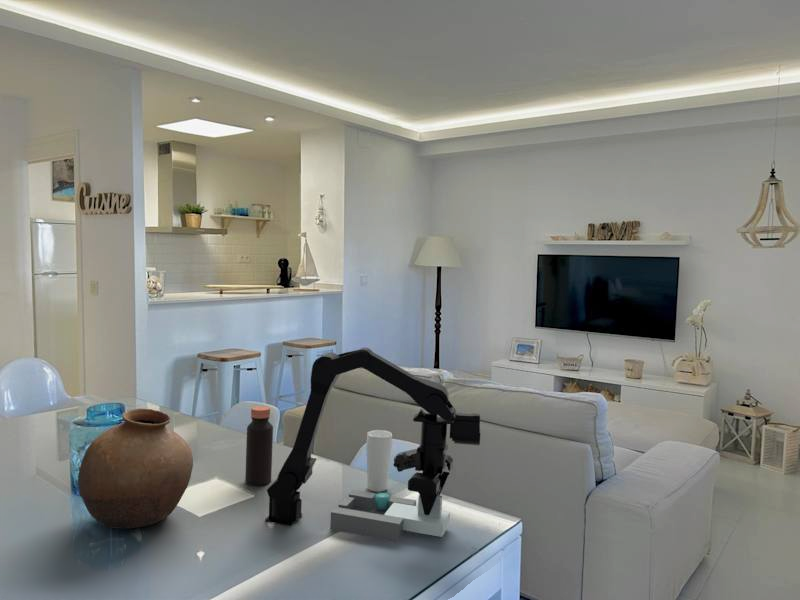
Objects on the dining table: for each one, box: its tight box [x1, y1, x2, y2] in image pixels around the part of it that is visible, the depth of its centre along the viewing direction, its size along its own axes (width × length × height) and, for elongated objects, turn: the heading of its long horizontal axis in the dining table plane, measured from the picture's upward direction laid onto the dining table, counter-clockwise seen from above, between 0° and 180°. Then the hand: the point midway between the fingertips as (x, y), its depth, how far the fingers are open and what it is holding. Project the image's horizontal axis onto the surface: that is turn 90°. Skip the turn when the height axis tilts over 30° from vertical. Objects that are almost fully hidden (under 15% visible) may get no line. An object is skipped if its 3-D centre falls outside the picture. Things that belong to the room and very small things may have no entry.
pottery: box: [77, 408, 194, 530], centre depth 130 cm, size 23×23×25 cm
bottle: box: [244, 405, 274, 487], centre depth 158 cm, size 7×7×20 cm
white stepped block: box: [384, 493, 451, 538], centre depth 133 cm, size 14×7×7 cm, turn 74°
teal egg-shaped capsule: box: [375, 492, 391, 510], centre depth 142 cm, size 3×3×3 cm
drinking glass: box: [365, 429, 393, 493], centre depth 157 cm, size 7×7×15 cm
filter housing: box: [329, 489, 417, 543], centre depth 136 cm, size 16×14×4 cm
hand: (429, 509), depth 133 cm, fingers open, 5 cm apart
